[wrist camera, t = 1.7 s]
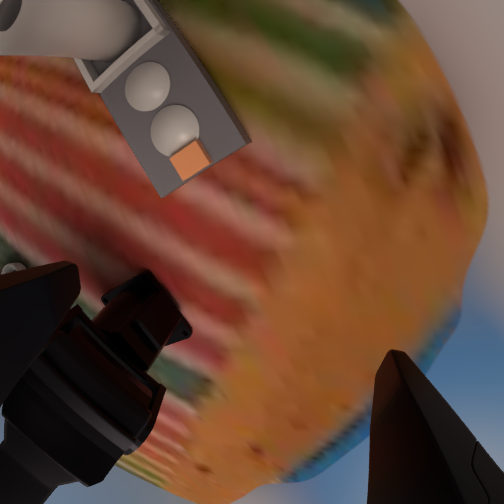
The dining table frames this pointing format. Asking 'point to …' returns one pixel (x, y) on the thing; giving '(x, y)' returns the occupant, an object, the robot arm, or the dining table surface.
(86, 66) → the power strip
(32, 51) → the cream cylinder
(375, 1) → the dining table surface
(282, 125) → the dining table surface
